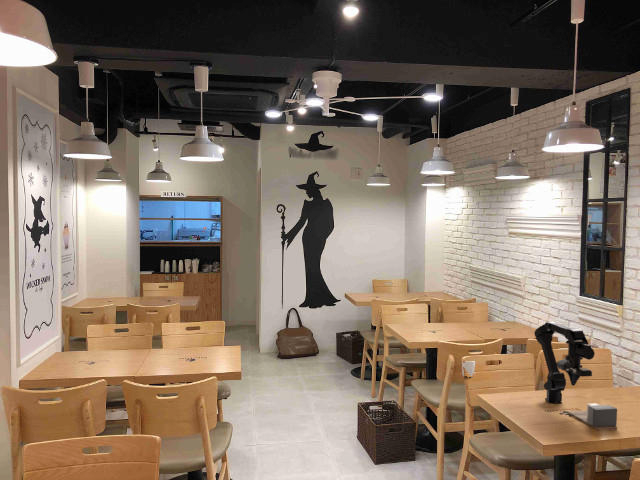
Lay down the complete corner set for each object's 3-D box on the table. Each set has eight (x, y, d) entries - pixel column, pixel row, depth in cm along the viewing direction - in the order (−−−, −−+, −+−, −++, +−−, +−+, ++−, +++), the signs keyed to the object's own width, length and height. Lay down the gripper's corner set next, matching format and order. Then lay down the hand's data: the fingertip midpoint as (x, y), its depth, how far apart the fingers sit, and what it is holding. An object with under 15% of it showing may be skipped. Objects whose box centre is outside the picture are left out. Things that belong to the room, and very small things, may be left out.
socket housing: (587, 422, 236) (588, 405, 236) (608, 421, 238) (608, 404, 238) (595, 427, 231) (596, 409, 231) (616, 425, 234) (617, 408, 233)
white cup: (475, 375, 312) (476, 359, 311) (473, 378, 305) (474, 362, 304) (462, 373, 315) (463, 357, 315) (460, 376, 308) (460, 360, 308)
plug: (586, 418, 241) (587, 403, 241) (595, 417, 242) (596, 403, 242) (596, 423, 235) (597, 408, 235) (605, 423, 236) (606, 408, 236)
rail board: (567, 413, 250) (567, 411, 250) (584, 412, 253) (584, 410, 253) (598, 430, 230) (598, 428, 230) (617, 429, 233) (617, 426, 233)
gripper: (548, 350, 261) (546, 380, 261) (573, 359, 243) (571, 392, 243) (567, 349, 263) (565, 379, 264) (593, 359, 245) (592, 391, 246)
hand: (573, 385), depth 254 cm, fingers closed
